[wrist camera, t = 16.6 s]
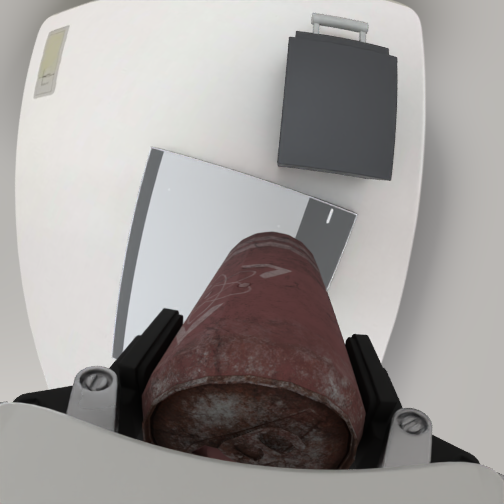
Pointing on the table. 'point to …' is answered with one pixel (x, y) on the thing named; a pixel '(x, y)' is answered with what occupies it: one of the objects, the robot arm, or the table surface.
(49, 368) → the table surface
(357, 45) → the drawer
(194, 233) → the white grey flat panel
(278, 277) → the can
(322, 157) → the dark grey cabinet
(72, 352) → the table surface
